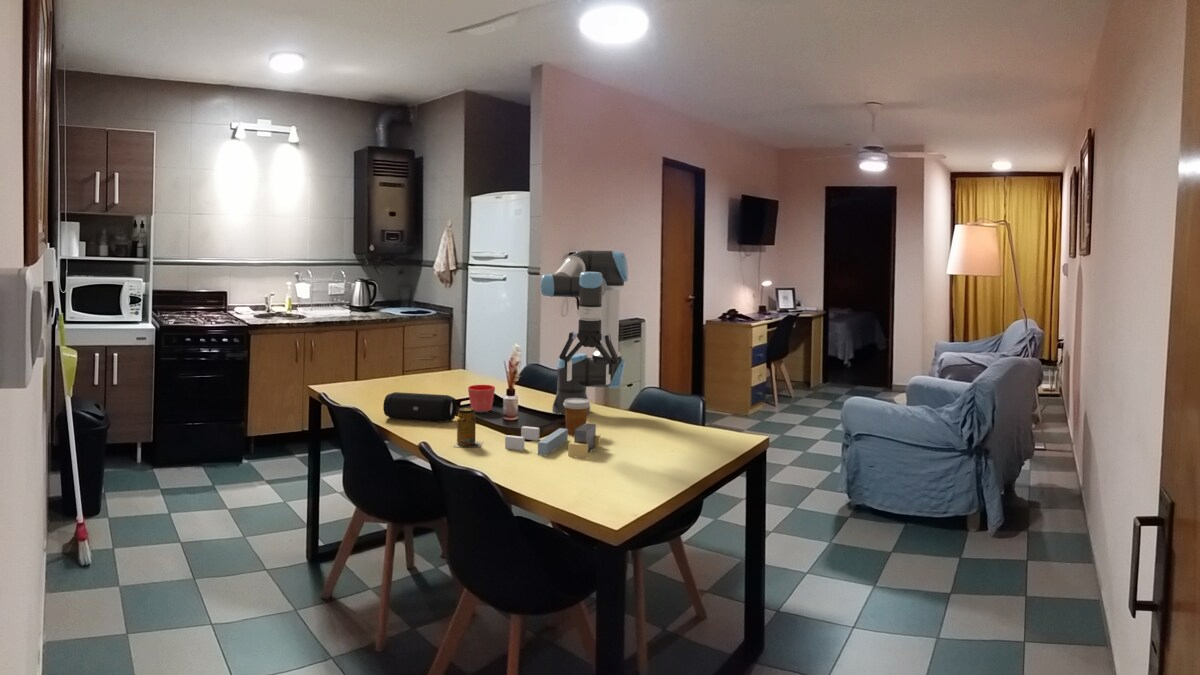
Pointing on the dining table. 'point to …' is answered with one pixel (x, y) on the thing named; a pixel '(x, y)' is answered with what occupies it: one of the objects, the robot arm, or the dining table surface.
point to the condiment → (466, 429)
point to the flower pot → (481, 397)
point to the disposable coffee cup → (575, 413)
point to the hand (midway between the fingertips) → (588, 382)
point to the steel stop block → (586, 435)
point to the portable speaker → (420, 407)
